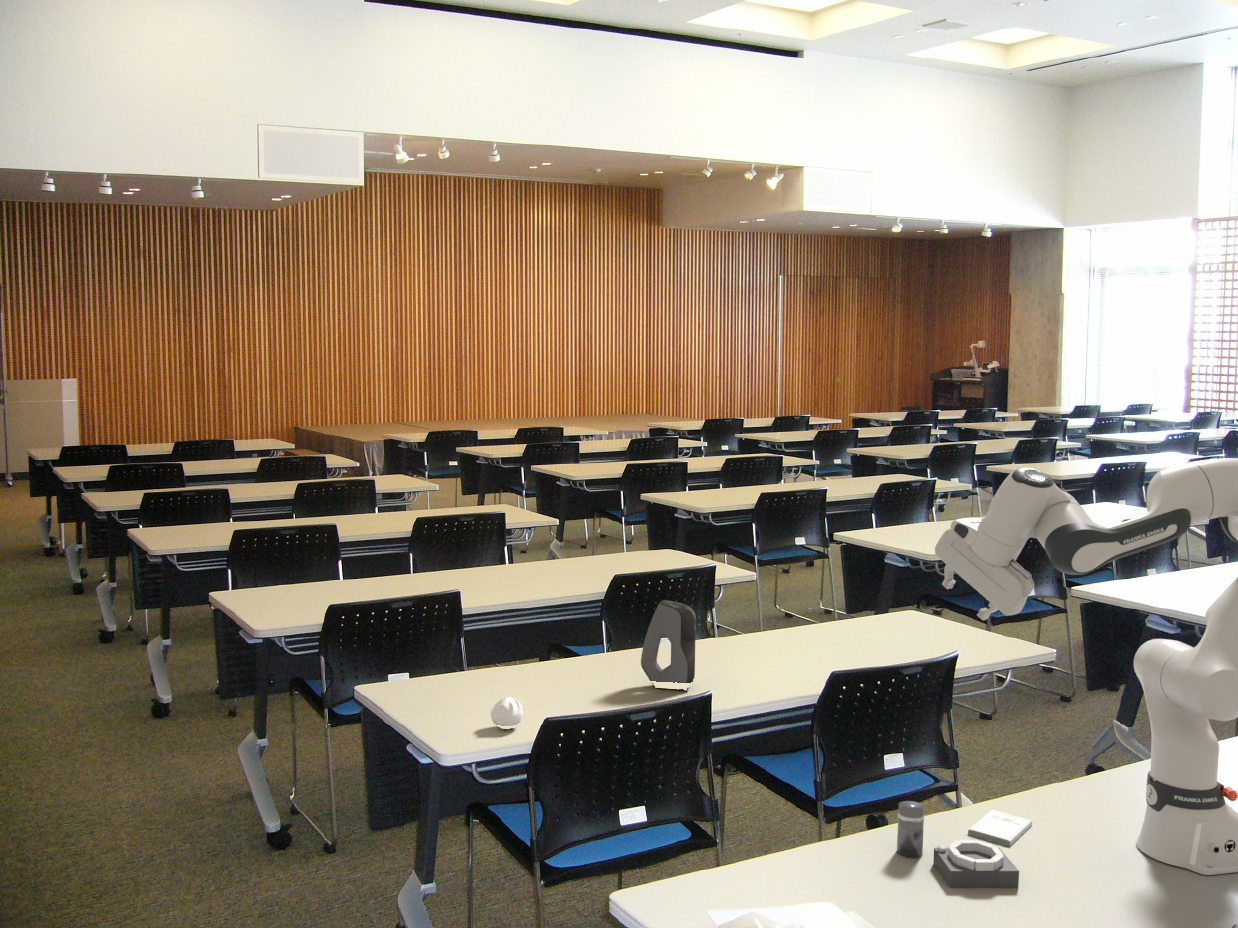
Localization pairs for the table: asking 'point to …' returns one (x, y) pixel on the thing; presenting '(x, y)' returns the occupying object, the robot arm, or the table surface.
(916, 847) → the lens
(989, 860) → the octagonal socket base
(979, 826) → the external hard drive
